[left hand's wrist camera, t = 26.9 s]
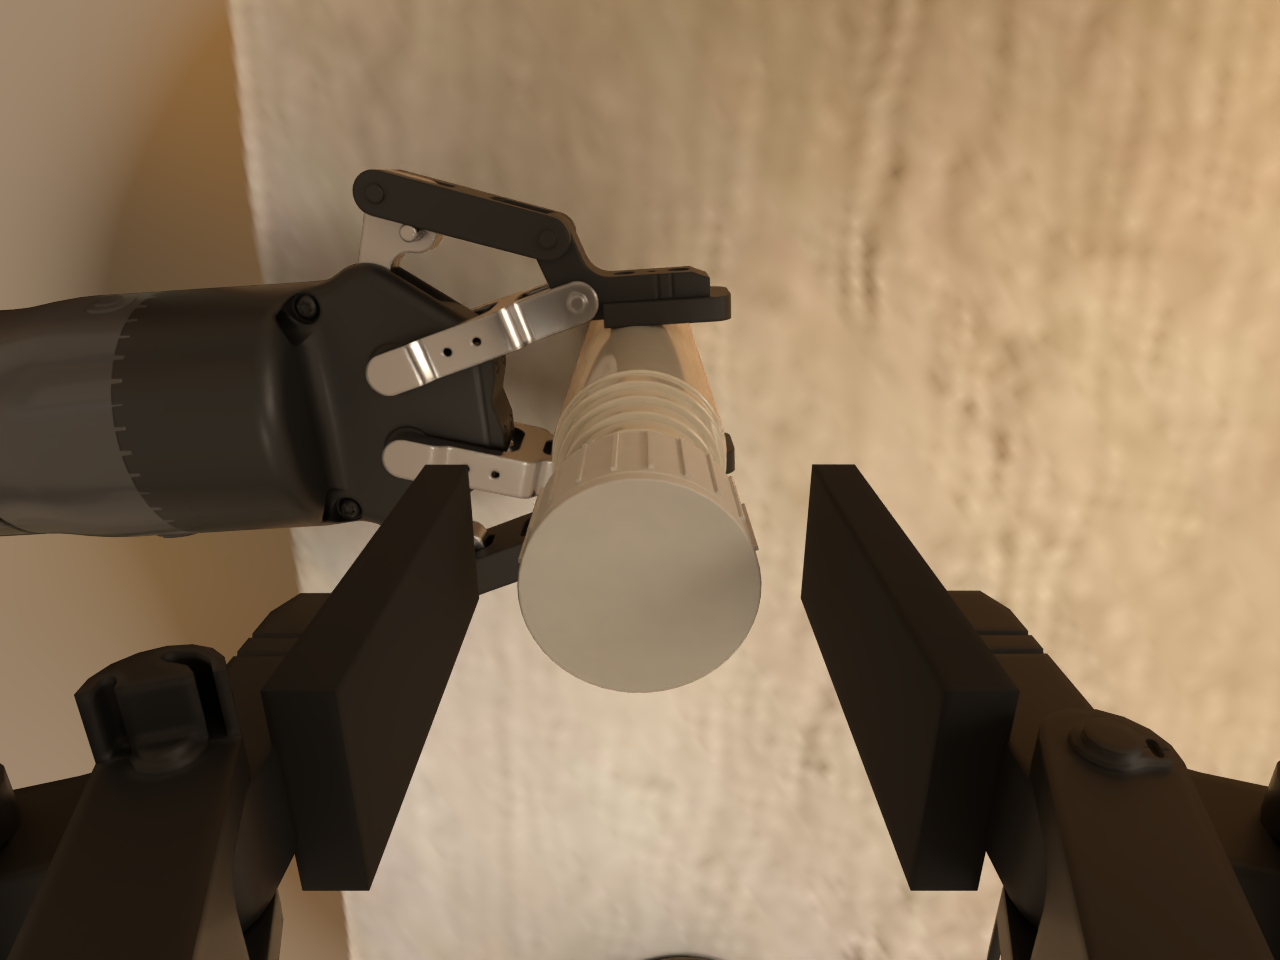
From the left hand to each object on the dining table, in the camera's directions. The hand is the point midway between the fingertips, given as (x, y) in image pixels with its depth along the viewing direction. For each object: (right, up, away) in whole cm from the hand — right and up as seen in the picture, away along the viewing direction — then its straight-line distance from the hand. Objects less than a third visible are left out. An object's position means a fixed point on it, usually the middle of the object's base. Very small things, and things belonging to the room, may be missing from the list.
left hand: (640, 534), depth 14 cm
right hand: (+3, +4, +10) cm, 11 cm away
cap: (0, -1, -2) cm, 2 cm away
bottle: (0, +6, +16) cm, 18 cm away
